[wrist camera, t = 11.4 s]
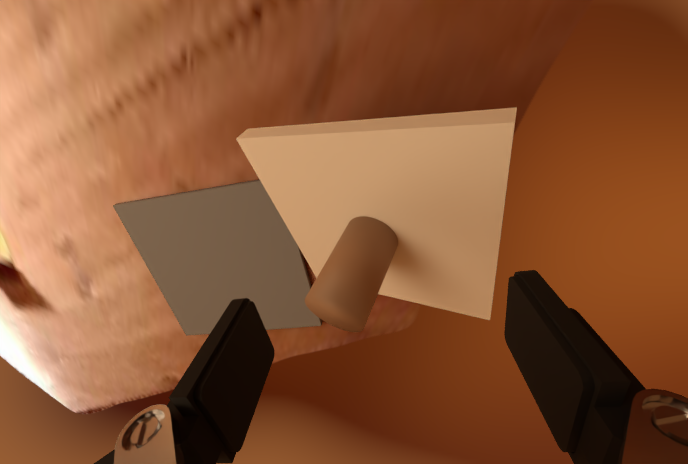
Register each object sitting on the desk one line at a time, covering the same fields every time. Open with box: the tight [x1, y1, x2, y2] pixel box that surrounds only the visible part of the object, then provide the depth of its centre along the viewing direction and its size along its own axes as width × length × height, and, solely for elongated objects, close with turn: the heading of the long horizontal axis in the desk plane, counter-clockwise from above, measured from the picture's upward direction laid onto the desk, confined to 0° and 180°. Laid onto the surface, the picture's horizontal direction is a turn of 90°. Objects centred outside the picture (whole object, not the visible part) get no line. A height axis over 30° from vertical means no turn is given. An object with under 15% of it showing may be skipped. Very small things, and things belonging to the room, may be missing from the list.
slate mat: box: [113, 180, 322, 335], centre depth 35 cm, size 20×20×1 cm
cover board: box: [236, 107, 517, 332], centre depth 18 cm, size 15×15×7 cm
